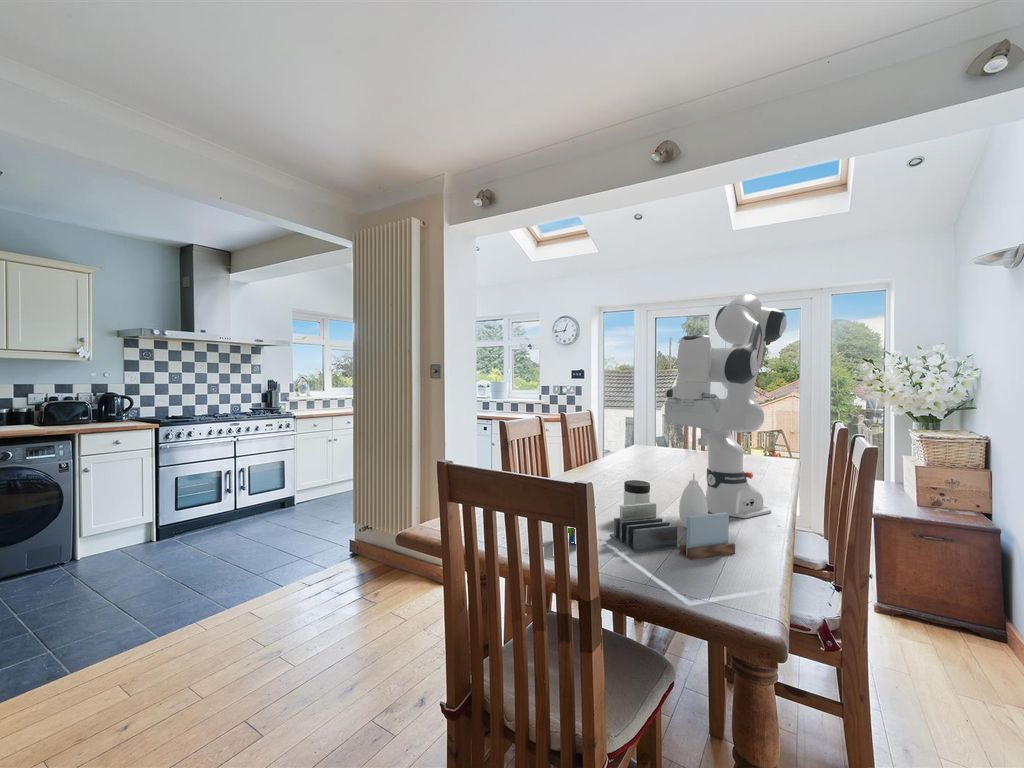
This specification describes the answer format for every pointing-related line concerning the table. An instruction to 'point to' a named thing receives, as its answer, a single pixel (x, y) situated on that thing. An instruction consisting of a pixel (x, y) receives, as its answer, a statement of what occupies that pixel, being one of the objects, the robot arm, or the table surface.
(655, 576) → the table surface
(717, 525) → the plate
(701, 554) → the plate stand
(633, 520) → the dish rack
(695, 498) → the sauce bottle
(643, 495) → the jar
